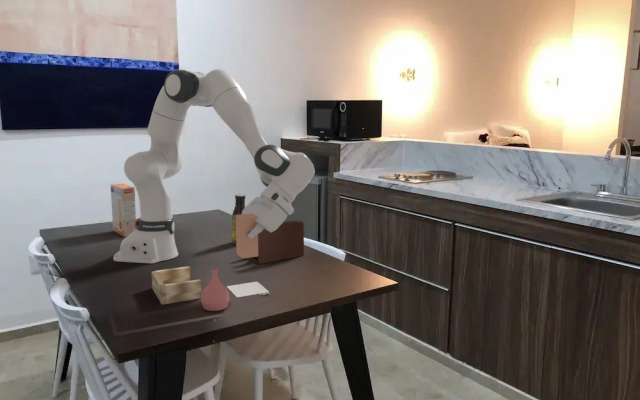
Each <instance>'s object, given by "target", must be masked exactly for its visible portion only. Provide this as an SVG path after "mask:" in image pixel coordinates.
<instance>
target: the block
mask: <svg viewBox="0 0 640 400" xmlns="http://www.w3.org/2000/svg"><path fill="white" fill-rule="evenodd" d="M257 217H258V216H256V215H254V214H252V213H251V214H240V215H236V244H235V245H236V249H235V250H236V255H237V256H238V257H240V258H241V259H247V258H250V257H257V256H258V234H257V235H255V237H254V238H253V239H250V238H249V237H248V236H247V233H248V232H249V231H250V230H252V229H253V228H255V225H256V224H257V222H255V219H256V218H257Z"/></svg>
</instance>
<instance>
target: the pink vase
mask: <svg viewBox="0 0 640 400" xmlns="http://www.w3.org/2000/svg"><path fill="white" fill-rule="evenodd" d="M200 301H201V305H202V308H203V309H204V310H205V311H210V312H220V311H222V310H225V309H227V308H228V305H229V302H230V293H229V289H228V288H227V287H226V286H225V285H224V284H223V283H222V282H221V280H220V278H219V276H218V268H217V267H212V268H211V278H210V279H209V282H208V284H207V285H206V286H205V287H204V288H203V290H202V294H201V298H200Z"/></svg>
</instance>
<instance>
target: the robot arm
mask: <svg viewBox="0 0 640 400" xmlns="http://www.w3.org/2000/svg"><path fill="white" fill-rule="evenodd" d="M163 84H164V85H163V86H162V87H161V89H160V91H159V93H158V95H157V98H156V99H155V102H154V105H153V109H152V111H151V115H150V119H149V122H148V125H147V133H148V135H149V138H150V148H149V150H146V151H139V152H137V153H134V154H132V155H130V156H129V157H128V158H126V159H125V161H124V164H123V170H124V171H123V172H124V174H125V177H126V178H127V179H128V180H129V181H130V182H132V184H133V186H134V188H135V190H136V192H137V196H138V201H139V210H140V211H139V212H140V213H139V214H140V217H138V218H136V222H135V223H134V224H135V226H136V230H134V231H133V232H132V233H131V234H129V235H128V236H127V237H124V238H123V239H122V240H121V242H120V245H119V246H120V247H119V250H118V251H117V252H116V253H115V254H114V255H113V257H112V258H113V261H114V262H121V263H123V262H125V263H137V264H138V263H139V264H140V263H141V264H156V263H159V262H162V261H163V262H164V261H168V260H171V259H174V258H177V257H178V256H179V252H178V247H177V245H176V240H175V218H174V217H173V201H172V200H173V199H172V195H170V194H169V193H168V192H167V190H166V187H165V185H164V180H167V179H170V178H172V177H174V176H175V175H177V174H179V172H180V171H181V169H182V166H183V162H182V161H183V160H182V158H181V156H180V153H179V149H180V146H179V143H180V139H181V134H182V131H183V128H184V124H185V120H186V117H187V114H188V110H189V108H190V107H191V106H192V107H205V108H209V107H213V110H214V111H215V112H216V114H217V115H218V116H219V118H220V119H221V120H222V122H224V123H225V124H226V125H227V126H228V127H229V129H230V130H231V131H232V132H233V133H234V134H235V135H236V136H237V137H238V138H239V139H240V141H241V142H242V143H243V144H244V146H245V148H247V151H248V152H249V154H250V155H251V157H252V158H253V162H254V165H255V168H256V171H257V173H258V175H259V178H260V180H261V181H260V182H262V184H263V186H265V187H266V188H265V189H264V190H263V191H262V192H261V193H260V195H261V196H255V198H253V199H252V200H251V201H250V202H249V203H248V204H247V205H245V208H244V209H243V211H242V214H251V213H252V214H254V215H256V216H258V217H257V218H256V219H255V222H257V224H256V225H255V228H253V229H252V230H250V231H249V232H248V233H247V236H248V237H249V238H250V239H253V238H254V237H255V235H257V234H258V233H260V232H262V230H263V229H265V230H267V231H269V232H273V231H275V230H276V229H277V228H278V227H279V226H280V225H281V224H282V223H283V222H286V221H285V220H287V218H288V216H291V215H293V214H294V212H295V209H294V207H293V205H292V203H293V202H294V201H295V199H296V197H297V196H298V195H299V194H300V193H301V192H302V191H304V190H305V188H306V187H307V186H308V184H309V183H310V182H311V180H313V179H312V178H313V177H314V176H315V173H316V169H315V166H314V163H313V162H312V160H311V158H309V156H308V155H306V153H304V152H293V151H290V150H289V151H288V150H285V149H284V148H281V147H279V146H277V145H274V144H268V143H267V142H266V140H265V139H264V137H263V135H262V133H261V131H260V129H259V127H258V123H257V120H256V116H255V113H254V110H253V106H252V105H251V102H250V100H249V98H248V96H247V94H246V93H245V91H244V89H243V88H242V87H241V86H240V84H239V83H238V82H237V80H235V79H234V77H233V76H232V75H231V74H230V73H228V71H226V70H225V69H222V68H218V69H217V68H215V69H212V70H210V71H209V72H207V73H203V72H199V71H190V70H185V69H177V70H176V69H175V70H172V71H170V72H169V73H168V74H167V75H166V77H165V79H164V82H163Z"/></svg>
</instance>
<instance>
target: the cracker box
mask: <svg viewBox="0 0 640 400" xmlns="http://www.w3.org/2000/svg"><path fill="white" fill-rule="evenodd" d="M135 190H136V188H135V186H134V187H133V186H130V185H128V184H126V183H116V184H115V183H114V184H110V197H111V198H110V199H111V200H110V201H111V215H112V216H111V217H112V231H113V232H114V233H117V234H118V235H120V236H121V237H123V238H126V237H127V236H128V235H129V234H131V233H132V232H133V231H134V230H136V226H135V224H134V223H135V222H136V221H137V213H136V212H137V210H136V191H135Z"/></svg>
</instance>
